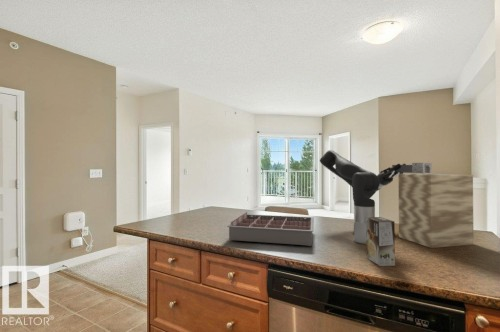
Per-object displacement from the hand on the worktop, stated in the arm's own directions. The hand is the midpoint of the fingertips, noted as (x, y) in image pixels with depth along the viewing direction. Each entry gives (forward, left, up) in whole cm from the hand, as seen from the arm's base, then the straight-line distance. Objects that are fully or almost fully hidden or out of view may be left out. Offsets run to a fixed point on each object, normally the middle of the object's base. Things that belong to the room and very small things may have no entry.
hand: (402, 165), depth 134 cm
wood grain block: (-1, -14, -37) cm, 39 cm away
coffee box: (-50, -6, -37) cm, 62 cm away
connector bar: (-2, -4, -4) cm, 6 cm away
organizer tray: (-53, +45, -37) cm, 78 cm away
